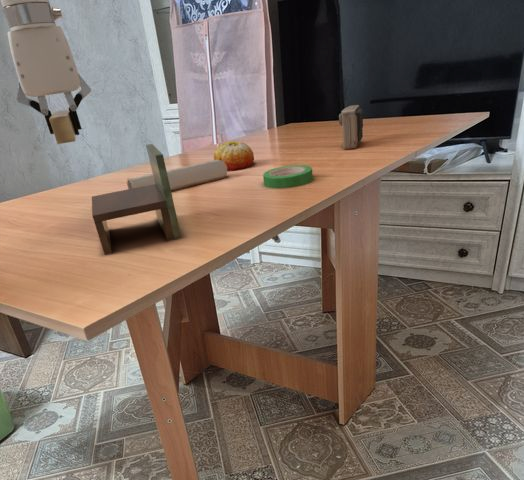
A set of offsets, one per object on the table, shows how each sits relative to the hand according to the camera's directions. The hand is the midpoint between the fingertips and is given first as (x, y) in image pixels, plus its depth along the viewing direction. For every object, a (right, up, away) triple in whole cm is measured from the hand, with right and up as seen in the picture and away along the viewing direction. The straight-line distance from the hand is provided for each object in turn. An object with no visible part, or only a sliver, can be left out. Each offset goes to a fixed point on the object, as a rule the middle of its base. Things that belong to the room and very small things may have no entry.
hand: (67, 135), depth 89 cm
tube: (+18, -2, +26) cm, 31 cm away
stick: (0, 0, 0) cm, 0 cm away
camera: (+63, +17, +45) cm, 80 cm away
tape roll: (+43, -3, +17) cm, 47 cm away
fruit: (+30, +9, +39) cm, 50 cm away
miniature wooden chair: (+14, -20, -3) cm, 25 cm away
